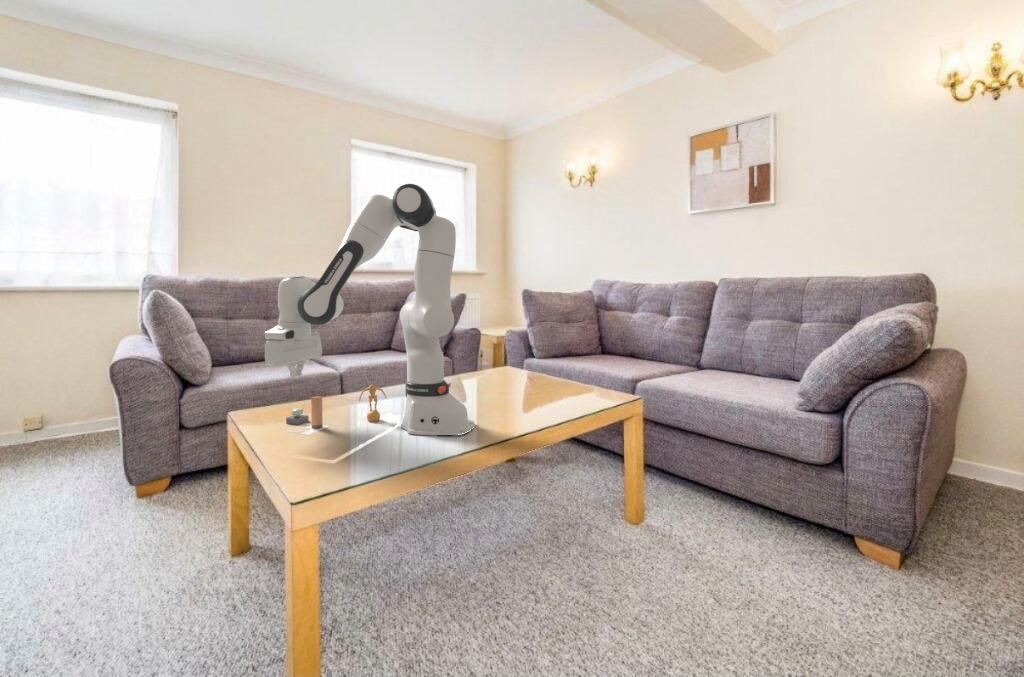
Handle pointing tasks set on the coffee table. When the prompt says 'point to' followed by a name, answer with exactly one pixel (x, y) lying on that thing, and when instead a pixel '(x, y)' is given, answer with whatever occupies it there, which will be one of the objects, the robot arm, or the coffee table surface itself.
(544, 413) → the coffee table surface
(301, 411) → the button
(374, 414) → the figurine
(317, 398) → the cylinder
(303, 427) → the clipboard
